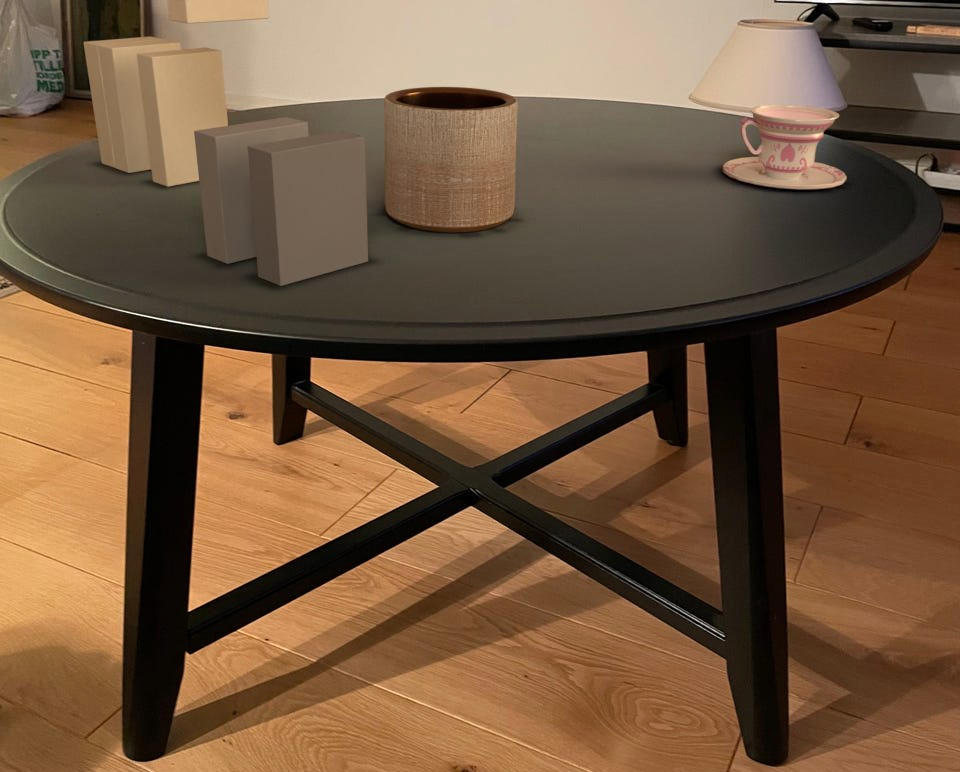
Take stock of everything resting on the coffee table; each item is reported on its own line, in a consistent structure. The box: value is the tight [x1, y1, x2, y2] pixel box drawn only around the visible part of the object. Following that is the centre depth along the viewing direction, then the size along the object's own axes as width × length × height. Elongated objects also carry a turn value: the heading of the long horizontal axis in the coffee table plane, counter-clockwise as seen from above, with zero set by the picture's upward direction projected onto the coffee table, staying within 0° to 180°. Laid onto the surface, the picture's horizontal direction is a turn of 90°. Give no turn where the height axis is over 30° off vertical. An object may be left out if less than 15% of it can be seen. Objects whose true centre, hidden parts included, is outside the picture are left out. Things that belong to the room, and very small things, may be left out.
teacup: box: [722, 104, 847, 190], centre depth 101 cm, size 12×12×6 cm
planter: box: [383, 86, 519, 233], centre depth 84 cm, size 11×11×10 cm
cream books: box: [83, 36, 229, 188], centre depth 95 cm, size 7×12×11 cm, turn 47°
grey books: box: [194, 116, 369, 287], centre depth 74 cm, size 8×9×9 cm
